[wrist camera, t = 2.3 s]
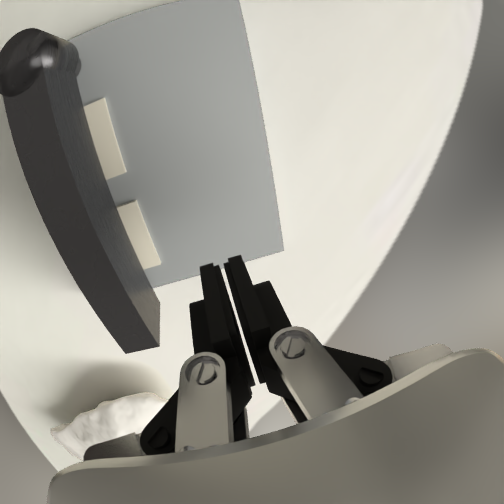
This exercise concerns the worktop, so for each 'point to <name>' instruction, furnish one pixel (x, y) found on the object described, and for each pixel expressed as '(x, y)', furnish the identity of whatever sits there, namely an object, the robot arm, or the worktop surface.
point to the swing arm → (74, 185)
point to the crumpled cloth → (108, 422)
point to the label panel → (181, 135)
